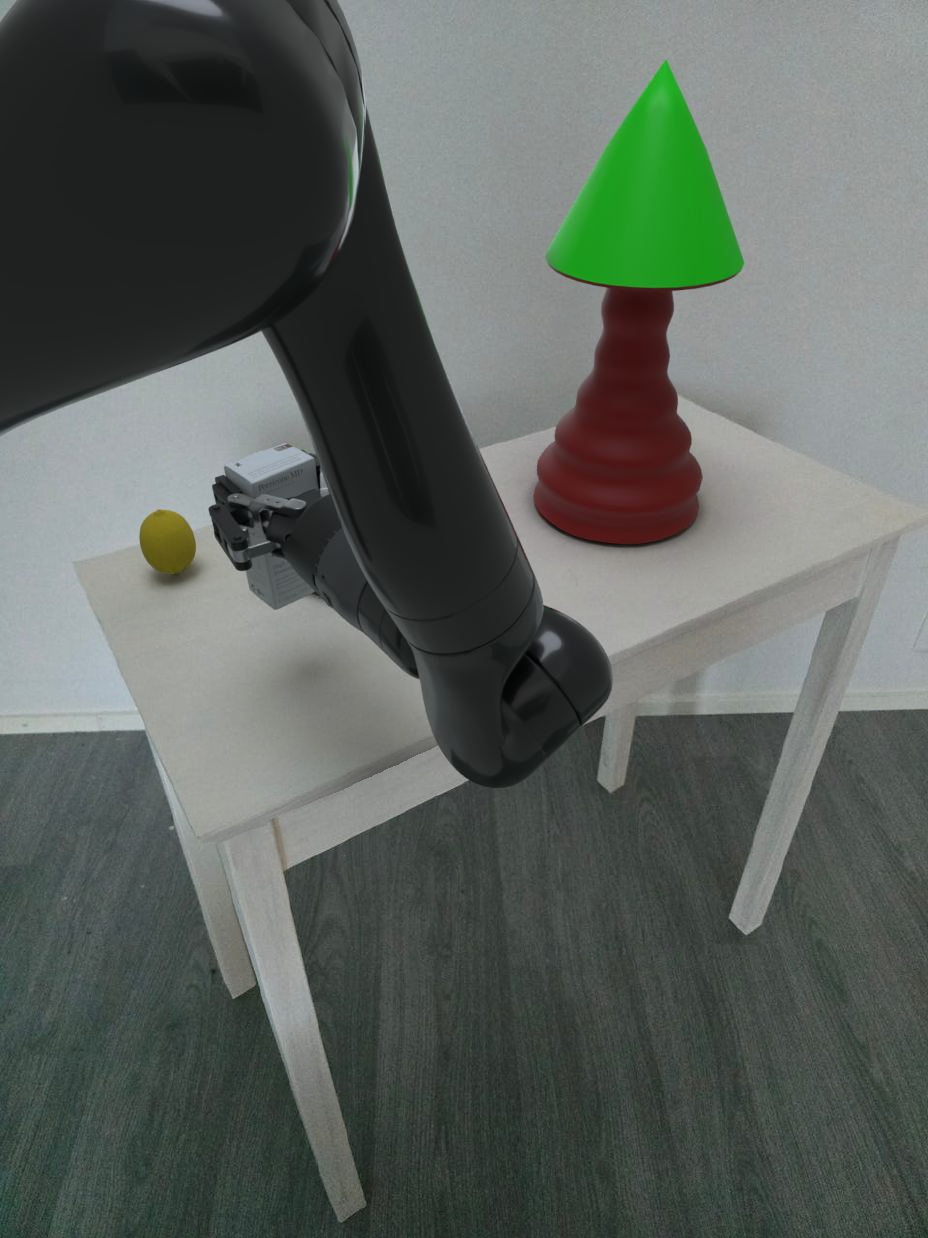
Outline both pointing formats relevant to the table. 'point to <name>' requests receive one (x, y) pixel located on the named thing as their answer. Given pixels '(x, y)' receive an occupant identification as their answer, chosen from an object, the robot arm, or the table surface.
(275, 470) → the cosmetic box
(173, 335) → the robot arm
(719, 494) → the table surface
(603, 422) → the table lamp
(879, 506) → the table surface
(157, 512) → the lemon
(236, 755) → the table surface
